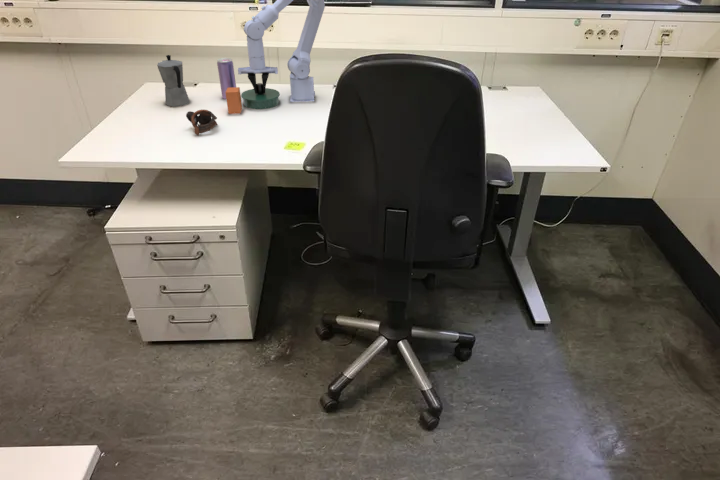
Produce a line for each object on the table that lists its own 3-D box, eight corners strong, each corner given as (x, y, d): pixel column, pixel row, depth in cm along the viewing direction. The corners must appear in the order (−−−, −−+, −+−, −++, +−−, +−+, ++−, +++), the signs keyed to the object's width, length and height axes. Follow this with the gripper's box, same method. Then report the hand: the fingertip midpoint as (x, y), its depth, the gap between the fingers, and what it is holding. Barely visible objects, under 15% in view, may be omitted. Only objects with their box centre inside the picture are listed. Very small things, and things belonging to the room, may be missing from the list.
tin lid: (280, 90, 198) (279, 78, 195) (278, 102, 186) (277, 89, 184) (243, 91, 197) (242, 78, 194) (239, 103, 185) (237, 90, 182)
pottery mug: (225, 127, 175) (221, 112, 168) (211, 147, 171) (207, 132, 164) (194, 115, 176) (189, 99, 169) (180, 134, 172) (174, 119, 165)
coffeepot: (160, 100, 196) (149, 53, 186) (183, 96, 201) (174, 49, 191) (173, 111, 186) (163, 62, 176) (197, 107, 191) (189, 58, 180)
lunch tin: (279, 98, 199) (278, 89, 197) (278, 110, 188) (277, 101, 186) (245, 99, 198) (244, 90, 196) (242, 111, 187) (241, 101, 185)
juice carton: (242, 109, 189) (239, 87, 184) (240, 114, 184) (237, 92, 179) (230, 109, 188) (227, 87, 183) (228, 115, 184) (225, 92, 179)
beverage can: (235, 101, 196) (230, 61, 188) (220, 100, 197) (214, 61, 188) (239, 96, 201) (234, 57, 193) (224, 95, 201) (218, 57, 193)
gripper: (235, 59, 179) (239, 96, 187) (275, 58, 180) (278, 95, 188) (237, 54, 185) (241, 90, 193) (276, 53, 186) (279, 89, 194)
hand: (260, 92), depth 191 cm, fingers closed on tin lid, 2 cm apart
